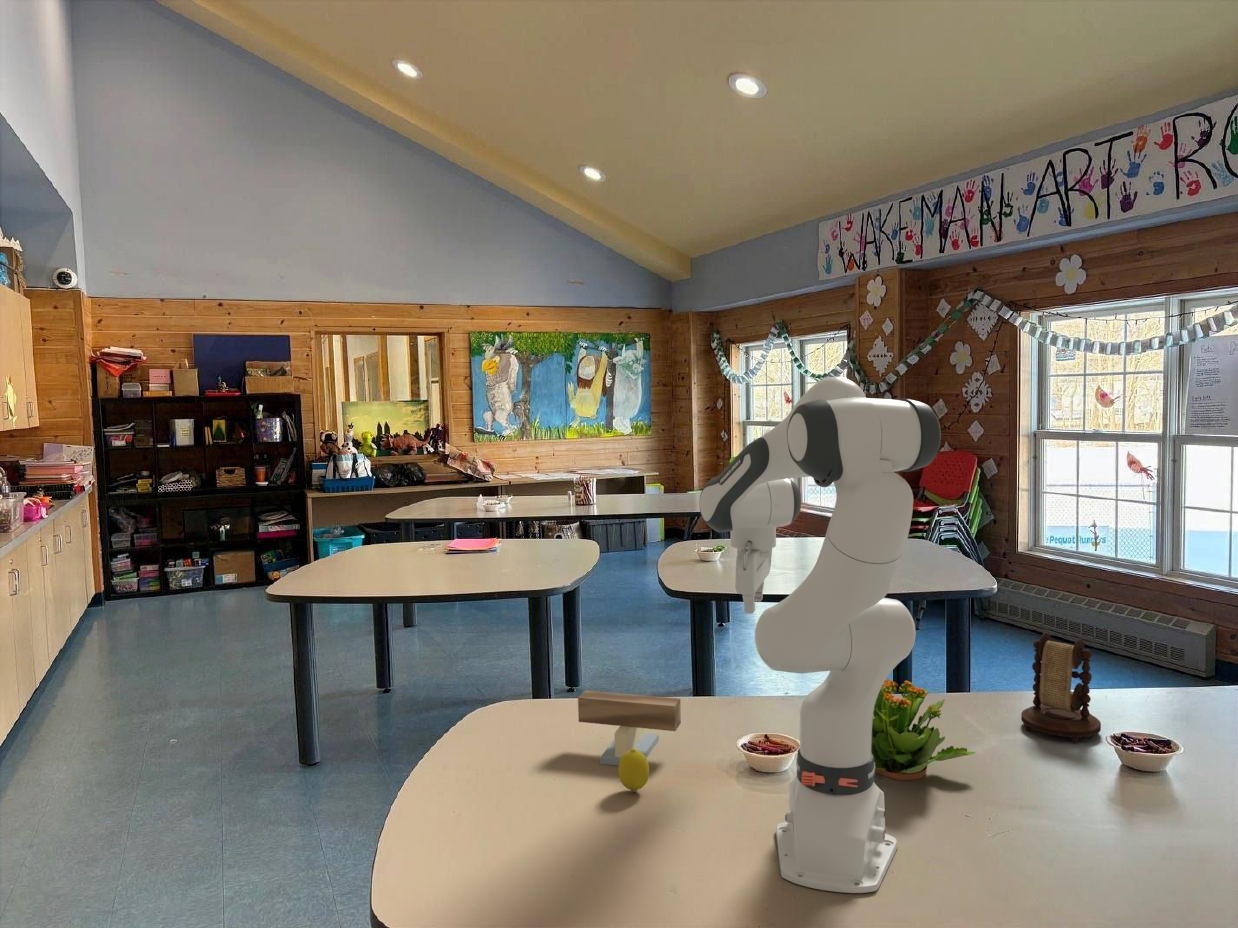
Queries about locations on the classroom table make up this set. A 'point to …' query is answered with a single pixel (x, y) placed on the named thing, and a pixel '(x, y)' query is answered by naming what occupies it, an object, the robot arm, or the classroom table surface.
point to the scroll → (1061, 691)
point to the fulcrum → (628, 744)
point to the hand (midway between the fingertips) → (753, 606)
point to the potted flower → (906, 734)
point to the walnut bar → (629, 710)
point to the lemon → (633, 770)
